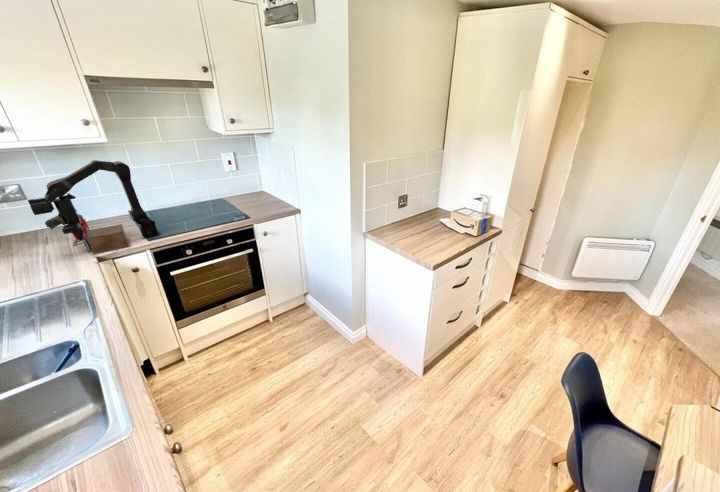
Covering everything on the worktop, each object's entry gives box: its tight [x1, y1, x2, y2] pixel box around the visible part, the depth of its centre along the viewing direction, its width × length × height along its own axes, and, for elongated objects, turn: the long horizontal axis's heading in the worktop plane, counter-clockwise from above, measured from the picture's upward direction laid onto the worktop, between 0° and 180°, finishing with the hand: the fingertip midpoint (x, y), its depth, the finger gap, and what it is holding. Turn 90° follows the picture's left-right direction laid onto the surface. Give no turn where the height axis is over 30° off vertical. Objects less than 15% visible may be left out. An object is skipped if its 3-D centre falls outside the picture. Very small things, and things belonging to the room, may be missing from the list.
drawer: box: [72, 233, 93, 254], centre depth 158 cm, size 17×10×7 cm, turn 130°
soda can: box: [66, 218, 91, 241], centre depth 167 cm, size 7×7×12 cm
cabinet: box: [86, 223, 130, 255], centre depth 161 cm, size 14×12×9 cm
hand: (81, 240), depth 154 cm, fingers closed
